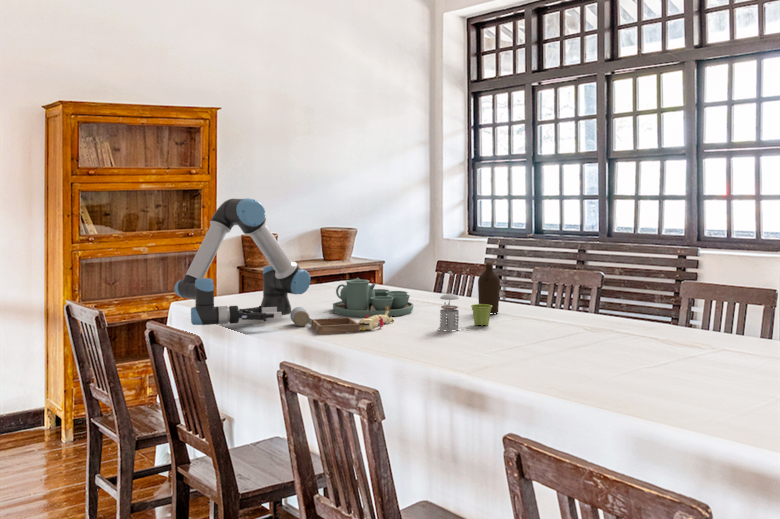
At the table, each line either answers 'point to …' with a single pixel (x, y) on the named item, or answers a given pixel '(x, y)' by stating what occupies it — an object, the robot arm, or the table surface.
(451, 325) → the french press
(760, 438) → the table surface
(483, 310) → the plant pot
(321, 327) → the tray
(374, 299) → the tea set
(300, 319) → the ceramic mug
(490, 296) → the olive oil
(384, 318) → the cat figure
